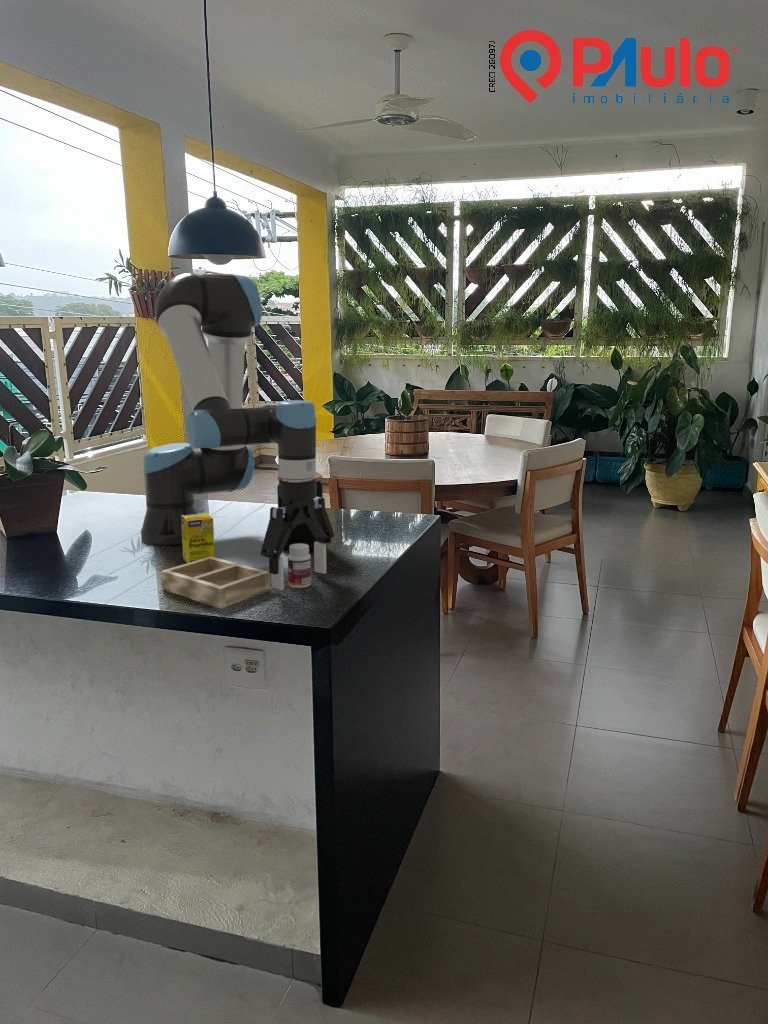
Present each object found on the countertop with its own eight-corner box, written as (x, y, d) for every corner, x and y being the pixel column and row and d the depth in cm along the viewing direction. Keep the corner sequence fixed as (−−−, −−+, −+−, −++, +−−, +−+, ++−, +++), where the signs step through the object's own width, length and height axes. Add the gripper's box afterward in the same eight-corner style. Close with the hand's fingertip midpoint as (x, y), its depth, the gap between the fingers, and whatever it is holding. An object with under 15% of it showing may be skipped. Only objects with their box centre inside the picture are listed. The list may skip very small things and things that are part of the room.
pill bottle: (288, 581, 160) (287, 542, 158) (311, 580, 161) (310, 542, 159) (287, 588, 156) (286, 549, 154) (311, 588, 156) (310, 549, 154)
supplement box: (189, 568, 168) (186, 520, 166) (182, 561, 173) (180, 514, 171) (215, 565, 171) (213, 517, 168) (208, 558, 176) (206, 512, 174)
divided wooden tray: (162, 589, 155) (161, 571, 154) (211, 573, 165) (210, 556, 164) (221, 608, 144) (220, 588, 144) (269, 590, 155) (269, 572, 154)
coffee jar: (316, 555, 178) (315, 480, 174) (272, 553, 180) (270, 478, 176) (328, 543, 188) (327, 472, 184) (287, 541, 191) (285, 470, 186)
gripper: (267, 490, 141) (270, 600, 146) (350, 471, 160) (350, 569, 166) (239, 485, 146) (243, 592, 151) (323, 467, 165) (324, 562, 170)
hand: (299, 580), depth 158 cm, fingers open, 12 cm apart
